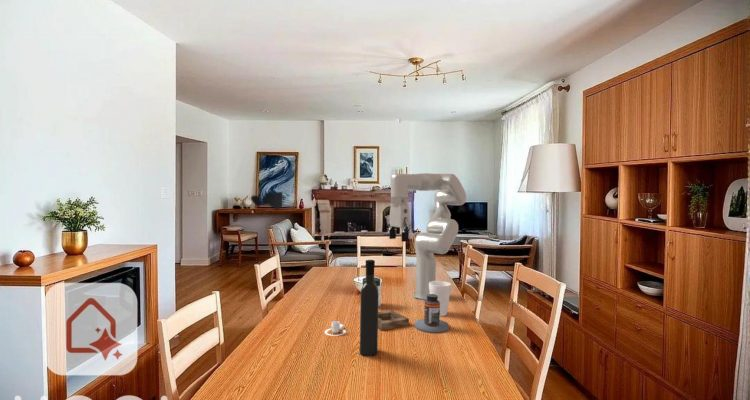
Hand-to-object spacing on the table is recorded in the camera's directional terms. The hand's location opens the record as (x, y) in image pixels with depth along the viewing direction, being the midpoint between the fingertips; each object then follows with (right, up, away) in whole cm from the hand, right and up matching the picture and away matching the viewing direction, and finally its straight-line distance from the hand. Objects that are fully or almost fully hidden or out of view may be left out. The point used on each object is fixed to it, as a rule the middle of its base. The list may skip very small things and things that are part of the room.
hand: (398, 240), depth 176 cm
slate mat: (+11, -31, -23) cm, 41 cm away
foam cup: (+17, -31, -7) cm, 36 cm away
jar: (-12, -30, +3) cm, 33 cm away
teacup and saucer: (-22, -32, -30) cm, 49 cm away
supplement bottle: (+11, -30, -23) cm, 40 cm away
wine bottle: (-12, -32, -48) cm, 59 cm away
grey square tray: (-6, -31, -19) cm, 37 cm away
